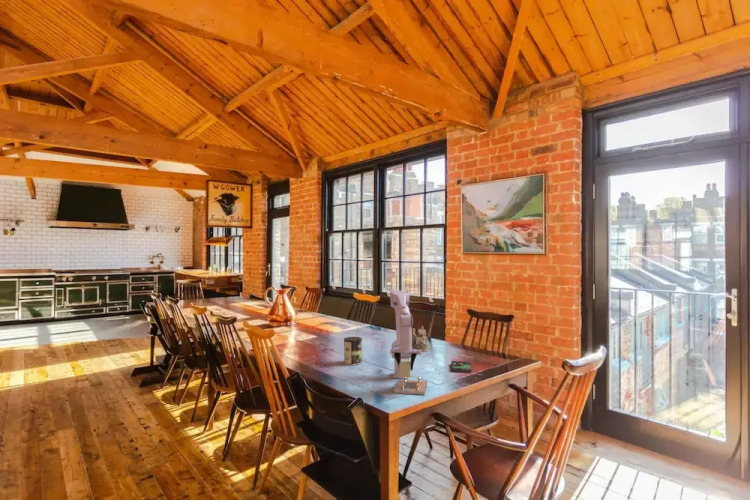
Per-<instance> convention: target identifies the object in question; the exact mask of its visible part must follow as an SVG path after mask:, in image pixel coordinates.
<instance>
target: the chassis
mask: <svg viewBox="0 0 750 500" xmlns="http://www.w3.org/2000/svg"><path fill="white" fill-rule="evenodd" d="M427 386H428V380H421V376H418V377H417V380H414V379H413V380H411V379H406V377H404V379H398V380H397V382H396V384H395V385H394V388H393V394H406V395H419V396H425V395H426V391H427Z"/></svg>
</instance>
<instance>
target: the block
mask: <svg viewBox="0 0 750 500" xmlns="http://www.w3.org/2000/svg"><path fill="white" fill-rule="evenodd" d="M412 373H413V370H411V359H409V360H408V359H402V360H401V361H400V363H399V377H409V378H411V377H412Z"/></svg>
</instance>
